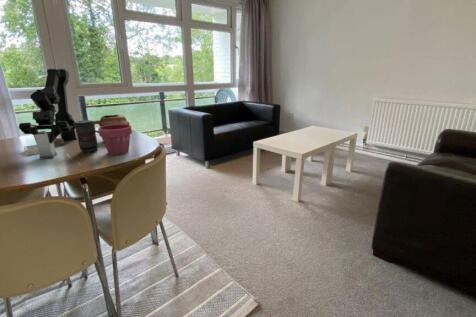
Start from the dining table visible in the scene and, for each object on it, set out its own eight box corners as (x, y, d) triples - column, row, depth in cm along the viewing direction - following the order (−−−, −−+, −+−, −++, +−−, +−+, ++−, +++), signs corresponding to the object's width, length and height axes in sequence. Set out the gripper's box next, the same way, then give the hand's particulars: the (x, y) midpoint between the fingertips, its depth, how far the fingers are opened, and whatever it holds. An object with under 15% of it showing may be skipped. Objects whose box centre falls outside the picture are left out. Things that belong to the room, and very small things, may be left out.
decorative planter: (95, 145, 139) (91, 119, 135) (91, 140, 148) (86, 116, 144) (134, 139, 151) (131, 115, 146) (127, 135, 160) (124, 112, 156)
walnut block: (58, 144, 142) (56, 138, 140) (64, 145, 140) (63, 139, 139) (48, 146, 137) (47, 140, 136) (55, 147, 135) (53, 141, 134)
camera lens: (102, 149, 131) (97, 120, 127) (89, 154, 124) (83, 123, 119) (90, 148, 134) (84, 119, 129) (76, 152, 127) (70, 122, 122)
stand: (46, 147, 134) (45, 142, 134) (50, 151, 128) (48, 146, 127) (24, 151, 129) (23, 146, 128) (27, 155, 122) (25, 150, 122)
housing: (44, 155, 122) (38, 130, 118) (56, 154, 124) (51, 130, 120) (39, 158, 118) (33, 133, 114) (53, 157, 119) (47, 132, 115)
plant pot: (125, 146, 137) (122, 122, 133) (139, 151, 129) (136, 126, 125) (97, 152, 127) (92, 126, 123) (110, 159, 118) (106, 131, 114)
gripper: (14, 104, 114) (9, 135, 108) (63, 103, 119) (60, 132, 113) (27, 119, 124) (22, 148, 117) (71, 117, 129) (70, 145, 122)
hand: (44, 143), depth 117 cm, fingers closed on housing, 5 cm apart
